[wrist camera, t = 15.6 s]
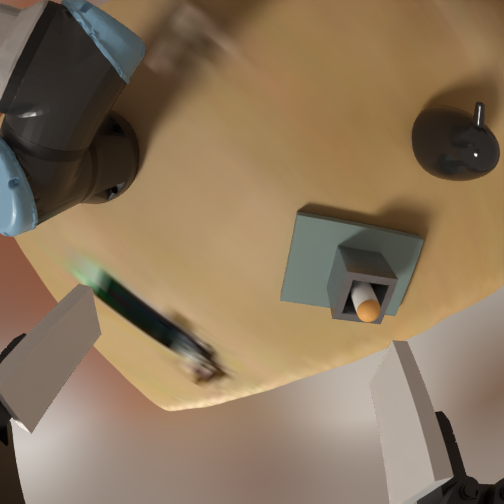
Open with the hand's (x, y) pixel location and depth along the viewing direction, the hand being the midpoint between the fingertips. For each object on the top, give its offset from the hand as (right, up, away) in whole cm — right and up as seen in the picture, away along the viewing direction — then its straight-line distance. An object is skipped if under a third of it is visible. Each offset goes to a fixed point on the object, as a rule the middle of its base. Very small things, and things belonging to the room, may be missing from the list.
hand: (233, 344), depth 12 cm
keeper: (+16, +2, +32) cm, 36 cm away
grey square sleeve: (+16, +1, +30) cm, 34 cm away
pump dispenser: (+27, +20, +23) cm, 41 cm away
